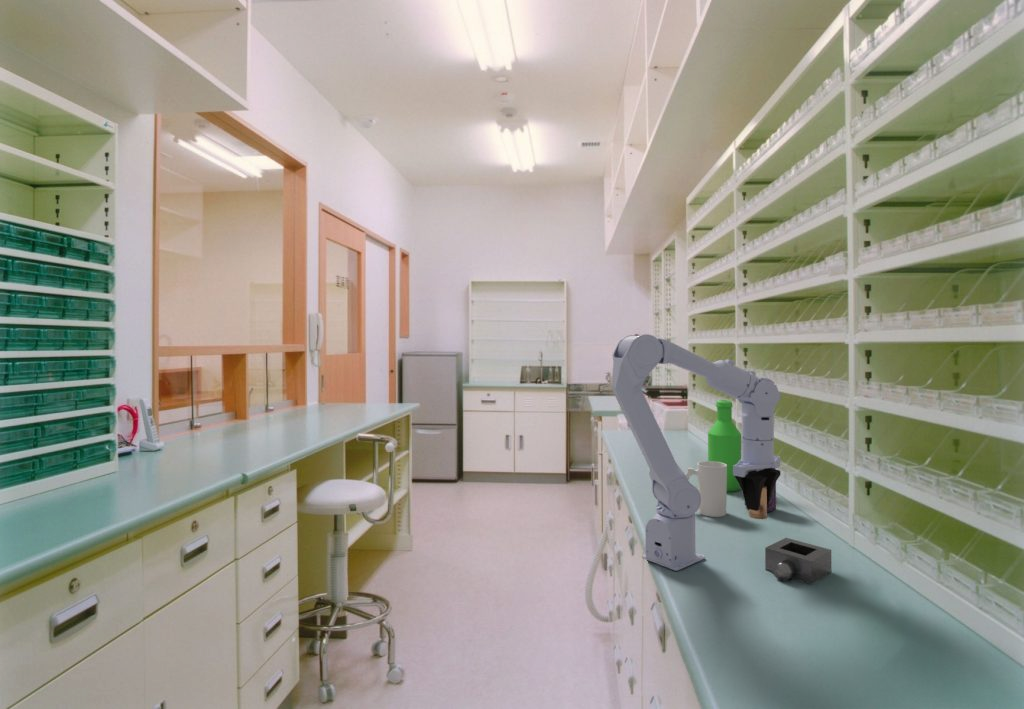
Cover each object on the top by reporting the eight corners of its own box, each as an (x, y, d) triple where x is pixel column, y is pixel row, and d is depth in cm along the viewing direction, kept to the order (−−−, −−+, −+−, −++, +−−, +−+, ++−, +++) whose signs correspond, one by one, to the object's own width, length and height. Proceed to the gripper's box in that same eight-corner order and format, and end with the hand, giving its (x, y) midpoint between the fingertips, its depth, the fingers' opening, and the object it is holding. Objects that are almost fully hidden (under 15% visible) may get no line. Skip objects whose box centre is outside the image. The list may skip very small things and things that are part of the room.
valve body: (804, 588, 90) (804, 565, 90) (758, 573, 96) (758, 551, 96) (837, 568, 98) (837, 546, 98) (792, 555, 104) (792, 534, 104)
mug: (724, 509, 133) (724, 461, 133) (729, 518, 126) (729, 467, 126) (682, 507, 135) (682, 460, 135) (685, 516, 128) (685, 466, 128)
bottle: (701, 486, 155) (701, 400, 154) (723, 482, 158) (723, 398, 158) (725, 494, 147) (725, 403, 146) (748, 490, 150) (747, 401, 150)
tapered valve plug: (761, 520, 103) (761, 489, 102) (745, 516, 105) (745, 485, 105) (769, 516, 105) (769, 486, 104) (754, 512, 107) (754, 483, 107)
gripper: (758, 445, 97) (758, 520, 97) (795, 436, 106) (795, 505, 106) (722, 440, 103) (722, 511, 103) (760, 432, 111) (760, 497, 112)
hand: (757, 507), depth 105 cm, fingers closed on tapered valve plug, 3 cm apart
